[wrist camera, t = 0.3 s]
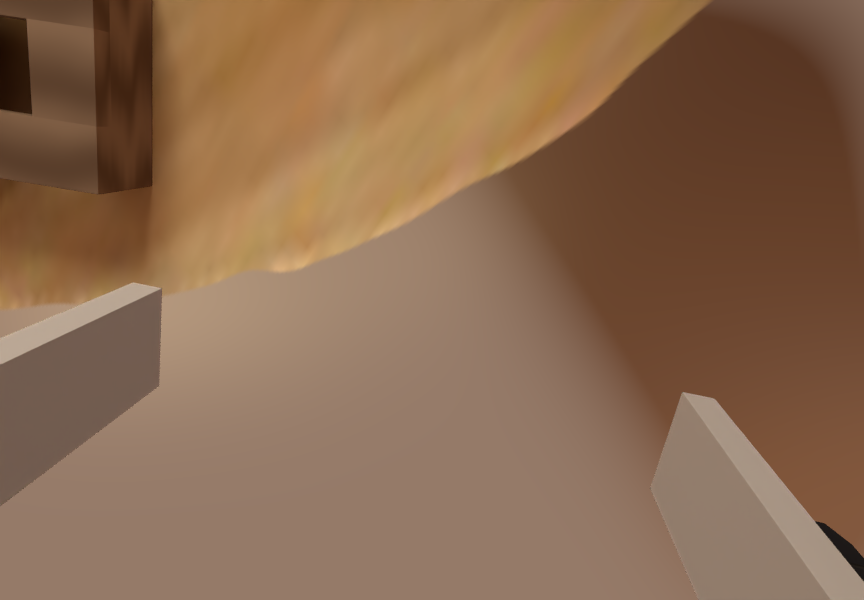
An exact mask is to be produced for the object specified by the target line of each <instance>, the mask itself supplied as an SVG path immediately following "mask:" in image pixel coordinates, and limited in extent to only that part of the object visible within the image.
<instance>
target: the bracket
mask: <svg viewBox="0 0 864 600" xmlns="http://www.w3.org/2000/svg"><path fill="white" fill-rule="evenodd" d="M0 16H1V17H7V18H14V19H21V20H27V35H28V52H29V69H30V85H31V102H32V114H28V113H22V112H15V111H9V110H3V109H0V178H3V179H9V180H15V181H21V182H27V183H33V184H39V185H45V186H51V187H57V188H63V189H69V190H75V191H81V192H87V193H93V194H104V193H110V192H117V191H123V190H129V189H136V188H142V187H148V186H152V0H0Z"/></svg>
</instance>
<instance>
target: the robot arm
mask: <svg viewBox="0 0 864 600" xmlns="http://www.w3.org/2000/svg"><path fill="white" fill-rule="evenodd" d="M161 303H162V288H158V287H153V286H148V285H143V284H138V283H131V284H128V285H126V286H123V287H121V288H119V289H116V290H114V291H112V292H109V293H107V294H104V295H102V296H100V297H97V298H95V299H92V300H90V301H88V302H85V303H83V304H81V305H78V306H76V307H73V308H71V309H69V310H66V311H64V312H62V313H59V314H57V315H54V316H52V317H49V318H47V319H45V320H42V321H40V322H38V323H35V324H33V325H30V326H28V327H26V328H23V329H21V330H19V331H16V332H14V333H12V334H9V335H7V336H4V337H2V338H0V506H1V505H3V504H4V503H5V502H7V501H8V500H9V499H10V498H12V497H13V496H14V495H16V494H17V493H18V492H19V491H21V490H22V489H24V488H25V487H26V486H28V485H29V484H30V483H32V482H33V481H34V480H36V479H37V478H38V477H39V476H41V475H42V474H44V473H45V472H46V471H47V470H49V469H50V468H51V467H53V466H54V465H55V464H57V463H58V462H59V461H61V460H62V459H63V458H64V457H66V456H67V455H69V454H70V453H71V452H72V451H74V450H75V449H76V448H78V447H79V446H80V445H82V444H83V443H84V442H86V441H87V440H88V439H89V438H91V437H92V436H93V435H95V434H96V433H97V432H99V431H100V430H102V429H103V428H104V427H105V426H107V425H108V424H109V423H111V422H112V421H113V420H115V419H116V418H117V417H118V416H120V415H121V414H123V413H124V412H125V411H126V410H128V409H129V408H130V407H132V406H133V405H134V404H136V403H137V402H138V401H140V400H141V399H142V398H144V397H145V396H146V395H148V394H149V393H150V392H152V391H153V390H154V389H156V388H157V387H158V386H159V372H160V371H159V369H160V337H161ZM650 489H651V491H652V494H653V496H654V499H655V501H656V503H657V506H658V508H659V510H660V512H661V515H662V517H663V519H664V522H665V524H666V526H667V529H668V531H669V533H670V535H671V538H672V540H673V543H674V545H675V547H676V550H677V552H678V554H679V556H680V559H681V561H682V563H683V566H684V568H685V570H686V573H687V575H688V577H689V580H690V582H691V584H692V587H693V589H694V591H695V593H696V596H697V598H698V600H864V558H863V557H862V556H861V555H860V553H859V552H858V551H857V550H856V549H855V548H854V546H853V545H852V544H850V543H849V542H848V541H846V540H845V539H844V538H843V537H841V536H840V535H839V534H837V533H836V532H835V531H834V530H832V529H831V528H830V527H828V526H827V525H826V524H824V523H820V522H816V521H814V520H813V519H812V518H811V516H810V515H809V514H808V513H807V511H806V510H805V509H804V508H803V507H802V505H801V504H800V503H799V502H798V501H797V499H796V498H795V497H794V496H793V494H792V493H791V492H790V491H789V489H788V488H787V487H786V486H785V485H784V483H783V482H782V481H781V480H780V478H779V477H778V476H777V475H776V473H775V472H774V471H773V470H772V469H771V467H770V466H769V465H768V464H767V462H766V461H765V460H764V459H763V458H762V456H761V455H760V454H759V453H758V451H757V450H756V449H755V448H754V447H753V445H752V444H751V443H750V442H749V441H748V439H747V438H746V437H745V436H744V434H743V433H742V432H741V431H740V429H739V428H738V427H737V426H736V425H735V423H734V422H733V421H732V420H731V418H730V417H729V416H728V415H727V413H726V412H725V411H724V410H723V409H722V407H721V406H720V405H719V404H718V402H717V401H716V400H715V399H714V398H709V397H704V396H699V395H694V394H688V393H684V392H682V395H681V398H680V401H679V404H678V407H677V410H676V413H675V416H674V419H673V422H672V425H671V428H670V431H669V434H668V437H667V440H666V443H665V446H664V449H663V452H662V454H661V457H660V460H659V463H658V466H657V469H656V473H655V475H654V479H653V481H652V485H651V487H650Z"/></svg>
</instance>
